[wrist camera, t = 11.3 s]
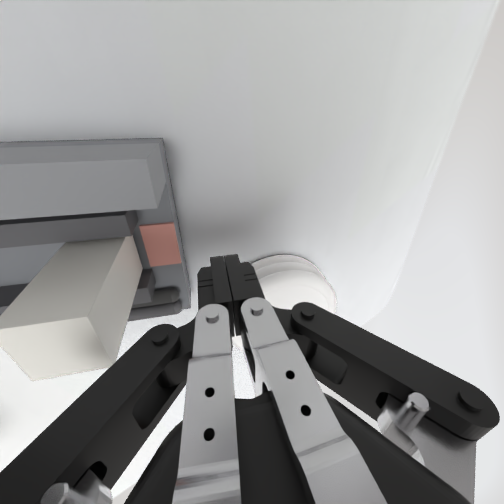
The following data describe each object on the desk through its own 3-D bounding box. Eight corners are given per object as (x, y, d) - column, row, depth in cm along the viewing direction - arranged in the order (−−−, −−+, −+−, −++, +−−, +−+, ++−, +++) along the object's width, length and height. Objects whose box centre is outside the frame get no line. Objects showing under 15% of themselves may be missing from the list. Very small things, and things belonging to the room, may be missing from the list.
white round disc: (282, 230, 19) (298, 253, 17) (338, 288, 25) (357, 313, 22) (199, 303, 22) (200, 334, 19) (266, 342, 27) (275, 371, 24)
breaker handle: (74, 232, 14) (-14, 331, 8) (130, 227, 14) (87, 316, 8) (93, 274, 15) (32, 381, 9) (142, 268, 16) (114, 366, 10)
